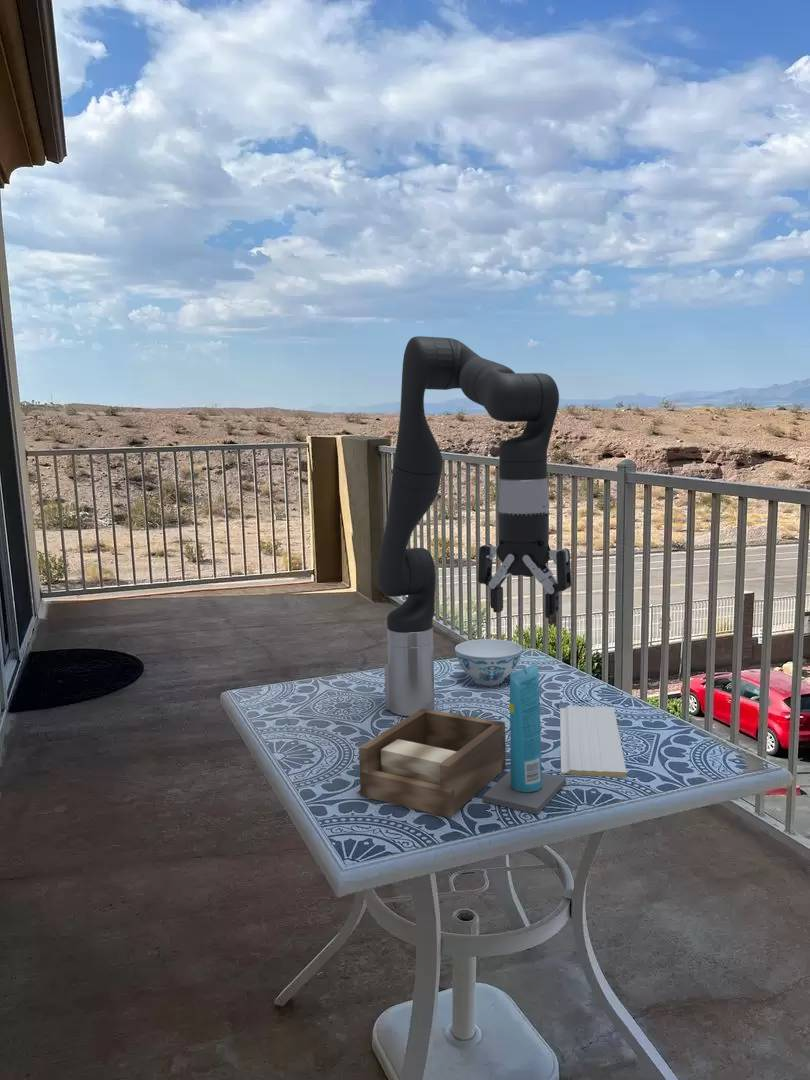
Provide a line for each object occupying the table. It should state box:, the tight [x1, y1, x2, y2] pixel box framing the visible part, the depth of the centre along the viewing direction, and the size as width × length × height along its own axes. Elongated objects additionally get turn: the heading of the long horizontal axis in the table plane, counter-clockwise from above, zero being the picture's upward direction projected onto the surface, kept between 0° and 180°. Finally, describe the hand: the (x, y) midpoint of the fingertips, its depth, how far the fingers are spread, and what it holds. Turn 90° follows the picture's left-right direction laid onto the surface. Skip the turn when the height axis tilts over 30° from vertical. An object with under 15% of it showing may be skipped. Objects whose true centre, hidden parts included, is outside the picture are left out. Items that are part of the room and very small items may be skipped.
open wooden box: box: [358, 708, 507, 819], centre depth 134 cm, size 16×20×8 cm
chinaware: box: [454, 638, 523, 686], centre depth 186 cm, size 15×15×8 cm
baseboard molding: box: [557, 699, 628, 778], centre depth 150 cm, size 31×3×12 cm
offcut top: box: [381, 739, 457, 778], centre depth 130 cm, size 11×5×2 cm, turn 58°
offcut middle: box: [382, 765, 440, 785], centre depth 130 cm, size 11×5×2 cm, turn 59°
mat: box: [482, 769, 567, 816], centre depth 130 cm, size 9×12×1 cm
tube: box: [509, 662, 543, 792], centre depth 128 cm, size 7×5×19 cm, turn 144°
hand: (523, 614), depth 126 cm, fingers open, 8 cm apart
